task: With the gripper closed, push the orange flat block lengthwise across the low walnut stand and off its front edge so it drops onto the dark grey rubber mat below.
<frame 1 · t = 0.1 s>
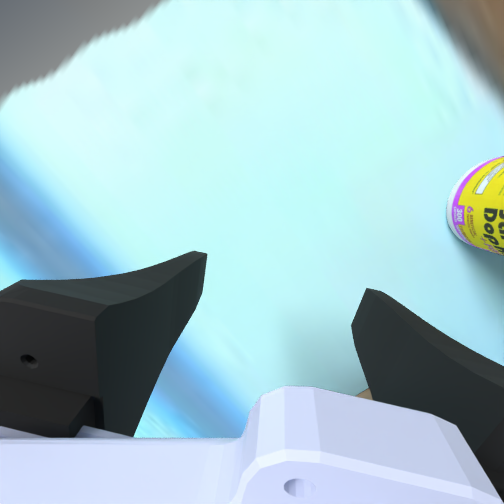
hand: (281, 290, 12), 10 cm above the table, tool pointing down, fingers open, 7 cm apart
supplement bottle: (486, 204, 20), on the table
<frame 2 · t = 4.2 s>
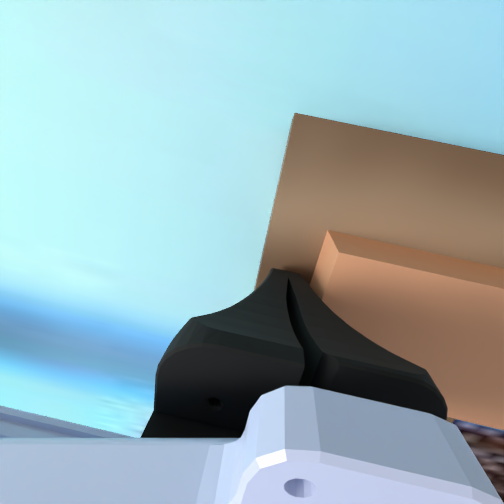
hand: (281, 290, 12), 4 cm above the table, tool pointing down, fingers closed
stand: (366, 277, 15), on the table
orange flat block: (404, 312, 12), point 3 cm above the table, touching gripper, stand
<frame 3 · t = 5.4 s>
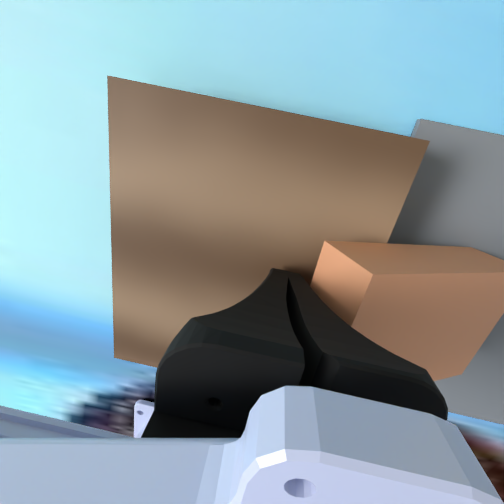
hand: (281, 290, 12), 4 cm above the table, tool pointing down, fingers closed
mat: (480, 302, 15), on the table
stand: (243, 250, 15), on the table
orange flat block: (382, 301, 13), point 2 cm above the table, tilted 27°
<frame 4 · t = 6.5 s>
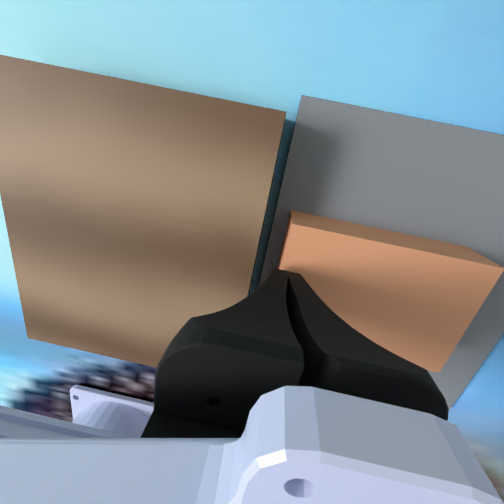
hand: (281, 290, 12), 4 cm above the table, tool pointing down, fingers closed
mat: (387, 281, 15), on the table
stand: (155, 231, 15), on the table
orange flat block: (357, 279, 15), resting on mat
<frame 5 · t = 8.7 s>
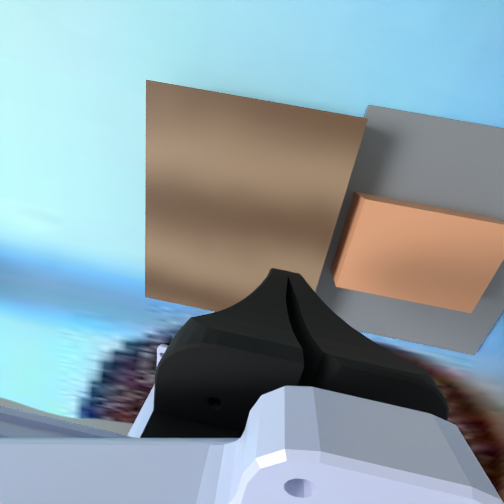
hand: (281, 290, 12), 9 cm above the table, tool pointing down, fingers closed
mat: (427, 247, 19), on the table
stand: (243, 212, 20), on the table
orange flat block: (404, 245, 19), resting on mat
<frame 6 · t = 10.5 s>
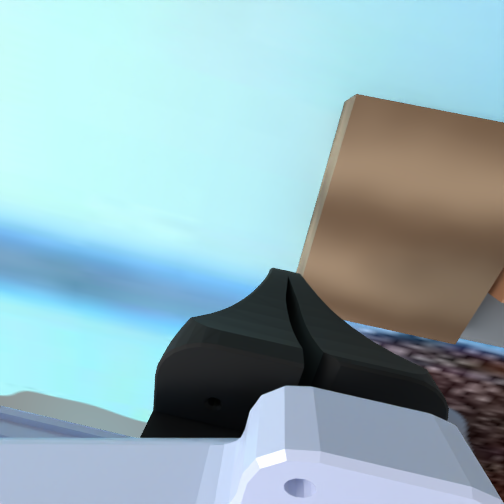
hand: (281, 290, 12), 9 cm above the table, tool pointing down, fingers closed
stand: (395, 224, 20), on the table
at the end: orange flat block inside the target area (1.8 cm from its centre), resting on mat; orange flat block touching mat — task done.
